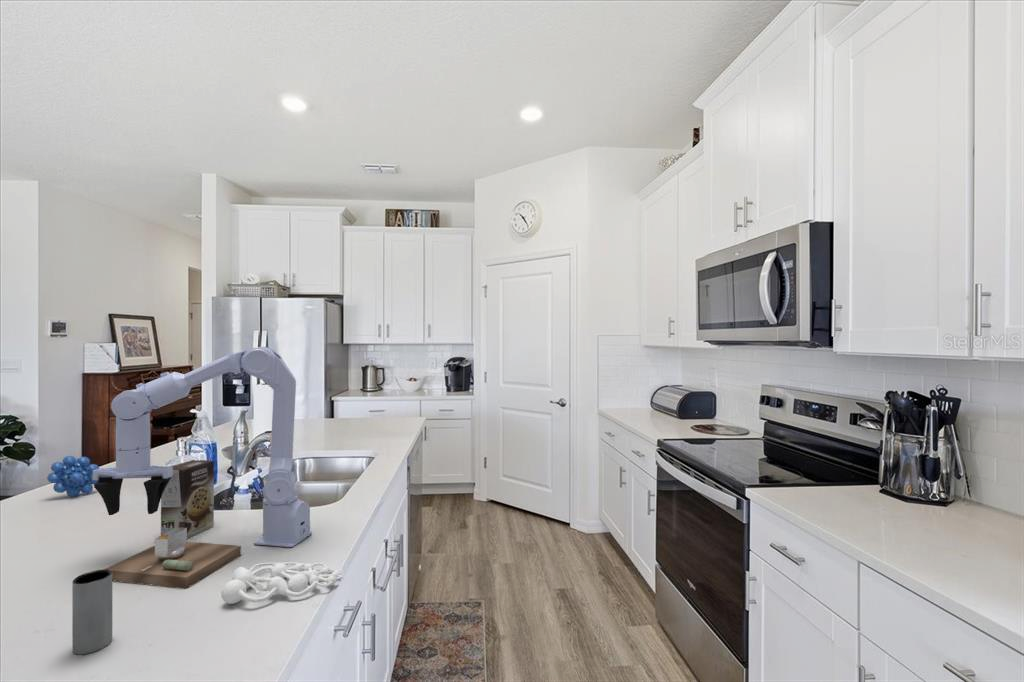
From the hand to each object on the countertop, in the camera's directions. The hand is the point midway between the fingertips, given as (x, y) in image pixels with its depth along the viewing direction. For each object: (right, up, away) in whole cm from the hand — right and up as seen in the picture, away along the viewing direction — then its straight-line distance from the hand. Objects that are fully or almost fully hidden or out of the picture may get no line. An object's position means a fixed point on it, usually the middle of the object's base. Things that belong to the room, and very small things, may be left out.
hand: (133, 513), depth 102 cm
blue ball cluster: (-47, -9, +39) cm, 62 cm away
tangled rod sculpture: (+36, -10, -11) cm, 39 cm away
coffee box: (+2, -10, +14) cm, 17 cm away
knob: (+11, -7, -4) cm, 13 cm away
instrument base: (+12, -9, -4) cm, 15 cm away
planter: (+16, -10, -29) cm, 35 cm away
